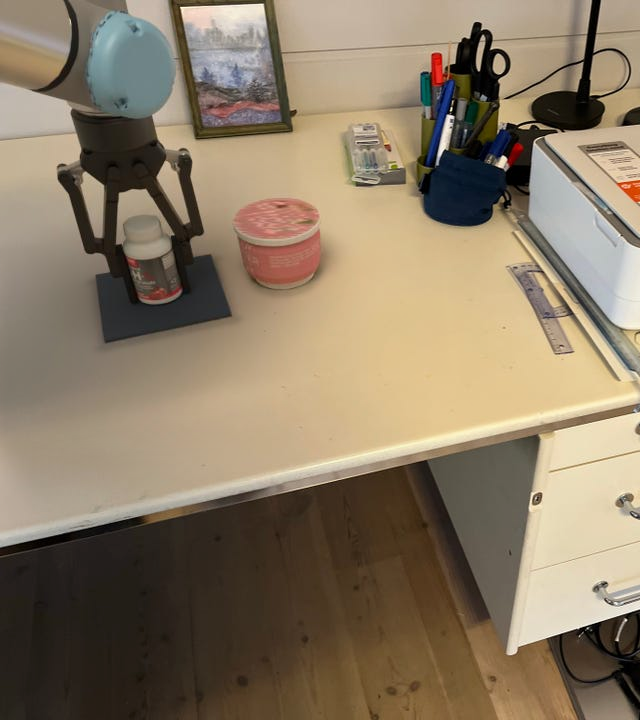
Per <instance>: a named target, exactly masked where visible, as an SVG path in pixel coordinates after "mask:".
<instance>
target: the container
mask: <svg viewBox="0 0 640 720" xmlns="http://www.w3.org/2000/svg"><path fill="white" fill-rule="evenodd" d="M321 217H322V216H321V212H320V210H319V209H318V208H317V207H316V206H315V205H313V204H312V203H310V202H308V201H306V200H302V199H299V198H293V197H269V198H264V199H260V200H256V201H253V202H251V203H249V204H247V205H244V206H243V207H241V208H240V209H239V210H237V212H236V213H235V214H234V216H233V218H232V227H233V231H234V233H235V234H236V237H237V242H238V245H239V250H240V254H241V258H242V262H243V265H244V268H246V270H247V271H248V273H249V274H250V276H251V277H253V279H255V280H256V282H257V283H258V284H259V285H260V286H263V287H265V288H269V289H273V290H289V289H294V288H297V287H301V286H303V285H304V284H306V283H308V282H309V281H310V280H311V279H312V278H313V277H314V275H315V272H316V271H317V270H318V267H319V265H320V262H321V258H322V246H321V224H322V219H321Z"/></svg>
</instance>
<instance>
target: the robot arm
mask: <svg viewBox="0 0 640 720" xmlns="http://www.w3.org/2000/svg"><path fill="white" fill-rule="evenodd" d="M176 74H177V65H176V59H175V54H174V51H173V49H172V46H171V44H170V41H169V39H167V36H166V35H165V34H164V33H163V32H162V30H160V28H158V26H157V25H155V24H153V23H152V22H150V21H148V20H146V19H143V18H140V17H137V16H133V15H132V14H131V13H129V10H128V5H127V0H0V83H3V84H6V85H10V86H14V87H18V88H21V89H25V90H28V91H31V92H33V93H37V94H40V95H44V96H47V97H51V98H55V99H59V100H62V101H66V103H67V105H68V106H69V107H70V108H71V110H70V117H71V120H72V123H73V126H74V130H75V133H76V137H77V139H78V143H79V146H80V153H79V159H78V160H76V161H73V162H72V163H68V164H66V163H59V164H57V166H56V177H57V178H56V179H57V181H58V183H59V184H60V186H62V188H63V189H64V190H65V192H66V193H67V195H68V198H69V201H70V204H71V208H72V212H73V215H74V219H75V223H76V225H77V228H78V232H79V235H80V239H81V243H82V247H83V250H84V253H86V254H88V255H91V256H92V255H95V254H101V255H102V256H104V257H105V260H106V263H107V267H108V269H109V272H110V273H111V275H112V277H113V278H120V277H123V279H124V283H125V286H126V289H127V293H128V296H129V299H130V302H131V303H136V302H137V297H136V293H135V290H134V286H133V283H132V279H131V276H130V272H129V269H128V266H127V262H126V259H125V256H124V252H123V248H122V246H123V243H118V244H117V232H118V231H117V230H118V211H119V201H120V194H122V193H126V192H129V191H131V190H139V191H142V190H146V192H147V193H148V195H149V196H150V198H151V199H152V200H153V202H154V204H155V205H156V207H157V208H158V210H159V212H160V213H161V215H162V216H163V218H164V219H165V221H166V223H167V225H168V226H169V228H170V229H171V231H172V233H173V235H170V238H171V240H172V244H173V248H174V252H175V256H176V261H177V265H178V269H179V273H180V277H181V281H182V285H183V288H184V292H185V293H187V292H191V289H190V285H189V281H188V276H187V272H186V268H185V265H191V264H193V263H194V258H193V257H194V254H193V250H192V245H191V241H192V239H193V238H195V237H201V236H203V235H204V234H205V229H204V225H203V220H202V217H201V213H200V209H199V204H198V201H197V197H196V193H195V188H194V186H193V182H192V178H191V177H192V170H193V159H192V156H191V154H190V151H189V149H187V148H186V147H180V148H179V149H178V150H174V149H169V148H165V146H164V145H163V143H161V141H160V140H159V138H158V133H157V130H156V126H155V125H156V124H155V121H154V117H153V115H156V114H157V113H158V112H159V111H160V110H161V109H162V108H164V106H165V105H166V104H167V102H168V101H169V99H170V98H171V95H172V93H173V90H174V88H173V87H174V84H175V78H176ZM165 162H168V163H169V166H170V168H171V170H172V171H173V172H176V175H177V178H178V183H179V186H180V189H181V194H182V197H183V200H184V201H183V202H184V204H185V208H186V212H187V216H188V219H189V221H188V222H187V223H184V222H183V220H182V218H181V217H180V215H179V214H178V212H177V211H176V209H175V207H174V205H173V203H172V202H171V200H170V198H169V197H168V195H167V193H166V192H165V190H164V188H163V186H162V185H161V183H160V181H159V179H158V178H157V177H158V176H159V174H160V171H161V170H162V168H163V166H164V164H165ZM84 173H87V174H88V175H90V177H92V178H93V179H94V180H96V181H97V182H99V183H100V184H101V185H102V186H103V209H102V210H103V211H102V232H101V233H102V237H96V236H95V233H94V229H93V226H92V222H91V219H90V218H91V217H90V213H89V211H88V208H87V207H88V206H87V204H86V200H85V196H84V193H83V188H82V185H83V183H84Z"/></svg>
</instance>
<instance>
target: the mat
mask: <svg viewBox="0 0 640 720" xmlns="http://www.w3.org/2000/svg"><path fill="white" fill-rule="evenodd" d="M193 258H194V263H193V264H191V265H185V268H186V272H187V276H188V281H189V285H190V289H191V292H187V293H185V292H184V288H183V291H182V293H181V294H180V296H179V297H178V298H176V299H175V300H173V301H171V302H168V303H164V304H155V305H154V304H147V303H143V302H142V301H140V300H139V299H138V298H137V302H136V303H131V302H130V299H129V296H128V293H127V289H126V286H125V283H124V279H123V277H120V278H113V277H112V275H111V273H110V271H109V272H108V271H107V272H102V273H97V274H95V281H96V289H97V290H96V291H97V297H98V298H97V299H98V304H99V312H100V319H101V327H102V328H101V329H102V335H103V342H104V343H105V344H106V343H111V342H117V341H120V340H125V339H129V338H136V337H139V336H143V335H150V334H154V333H158V332H164V331H168V330H172V329H178V328H182V327H186V326H190V325H196V324H201V323H206V322H210V321H216V320H221V319H224V318H225V319H226V318H230V317H232V315H233V314H232V312H231V308H230V305H229V303H228V300H227V297H226V293H225V291H224V288H223V285H222V283H221V280H220V277H219V273H218V270H217V267H216V265H215V262H214V258H213V255H212V254H211V253H209V254H203V255H198V256H196V255H195V256H193ZM182 286H183V285H182ZM136 297H137V296H136Z"/></svg>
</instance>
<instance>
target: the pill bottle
mask: <svg viewBox="0 0 640 720" xmlns="http://www.w3.org/2000/svg"><path fill="white" fill-rule="evenodd" d="M122 229H123V233H124V237H125V239H124V240H123V242H122V248H123V252H124V256H125V259H126V262H127V266H128V269H129V272H130V276H131V279H132V283H133V286H134V290H135V293H136V296H137V298H138V299H139V300H140V301H142V302H143V303H147V304H154V305H155V304H164V303H168V302H171V301H173V300H175V299H176V298H178V297H179V296H180V294H181V293H182V291H183V286H182V281H181V277H180V273H179V269H178V265H177V261H176V256H175V252H174V248H173V244H172V240H171V236H170V235H169V234H167V233H166V232H164V230H163V226H162V223H161V220H160V219H159V217H158V216H156V215H152V214H137V215H133V216H130V217H128V218H127V219H126V220H124V222H123V223H122Z"/></svg>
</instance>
